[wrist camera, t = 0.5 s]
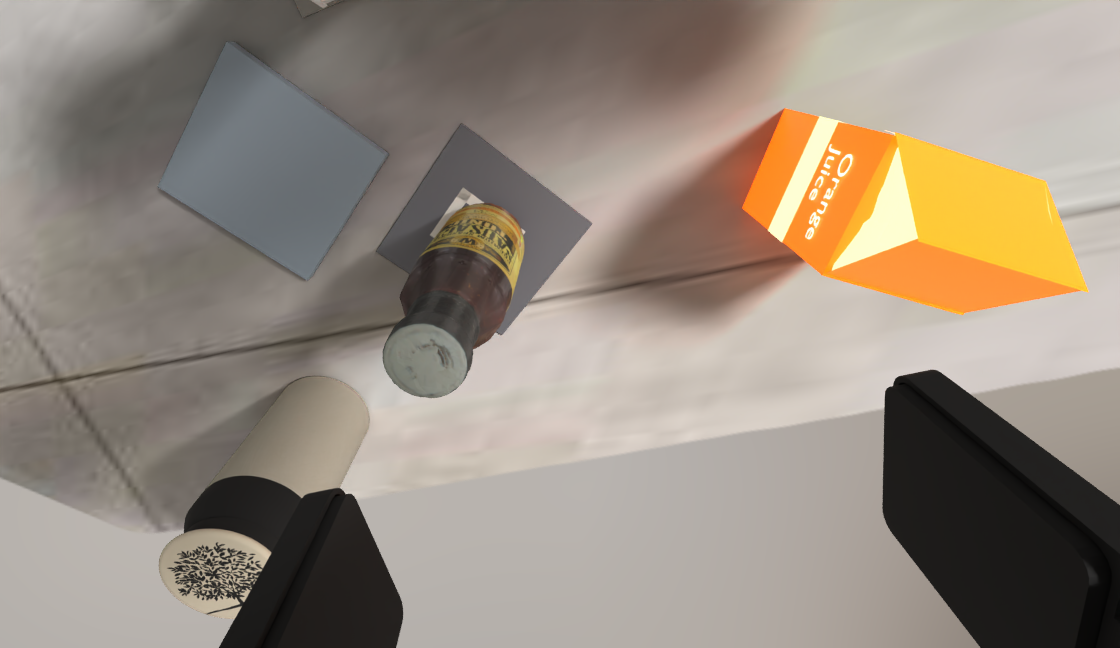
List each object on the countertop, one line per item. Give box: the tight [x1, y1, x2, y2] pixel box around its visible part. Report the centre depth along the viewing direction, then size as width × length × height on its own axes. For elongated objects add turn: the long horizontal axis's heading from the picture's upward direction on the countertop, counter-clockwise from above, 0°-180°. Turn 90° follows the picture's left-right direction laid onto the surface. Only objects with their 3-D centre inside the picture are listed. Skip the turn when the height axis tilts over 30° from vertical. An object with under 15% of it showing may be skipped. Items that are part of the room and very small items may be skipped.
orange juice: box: [742, 109, 1089, 315], centre depth 34 cm, size 8×9×20 cm
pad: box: [158, 42, 389, 281], centre depth 42 cm, size 12×12×1 cm
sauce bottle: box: [383, 203, 524, 398], centre depth 36 cm, size 6×6×20 cm
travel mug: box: [159, 376, 370, 619], centre depth 43 cm, size 8×8×18 cm
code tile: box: [376, 123, 592, 335], centre depth 45 cm, size 12×12×1 cm
